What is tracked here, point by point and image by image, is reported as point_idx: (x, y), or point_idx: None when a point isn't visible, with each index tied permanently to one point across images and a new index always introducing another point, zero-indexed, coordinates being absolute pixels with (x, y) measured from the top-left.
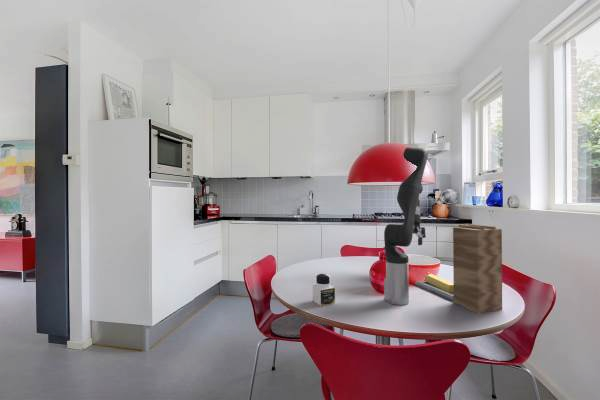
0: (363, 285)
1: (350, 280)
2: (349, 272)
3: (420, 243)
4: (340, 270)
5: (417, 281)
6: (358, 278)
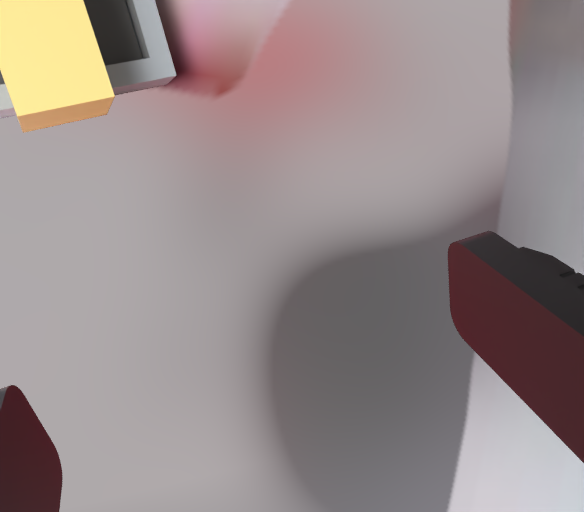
0: (531, 111)
1: (572, 234)
2: (540, 443)
3: (11, 418)
4: (577, 487)
5: (164, 34)
6: None
